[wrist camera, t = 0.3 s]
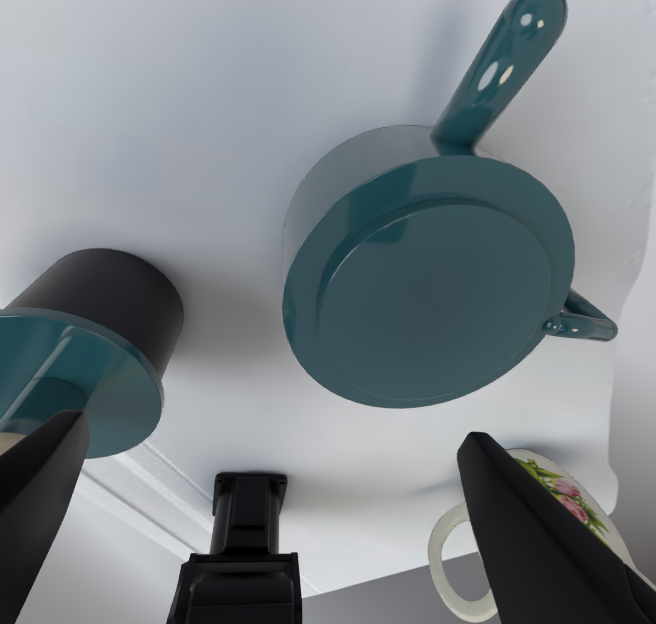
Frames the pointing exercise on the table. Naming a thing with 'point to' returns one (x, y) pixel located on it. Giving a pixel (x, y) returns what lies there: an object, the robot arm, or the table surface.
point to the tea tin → (113, 299)
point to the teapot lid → (74, 379)
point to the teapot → (434, 245)
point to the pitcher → (557, 485)
